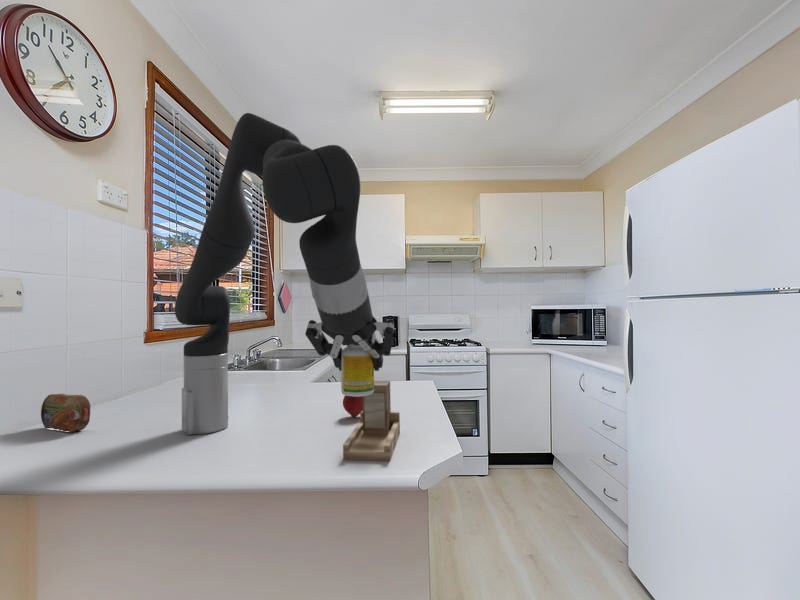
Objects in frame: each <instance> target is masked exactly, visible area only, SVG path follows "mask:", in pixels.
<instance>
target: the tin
mask: <svg viewBox="0 0 800 600" xmlns="http://www.w3.org/2000/svg"><path fill="white" fill-rule="evenodd" d="M90 416H91V403H90V400H89V399H88V398H87V397H86V396H85V395H83V394H70V393H56V394H53V393H52V394H48V395H46V397H45V398H44V400H43V402H42V405H41V408H40V418H41V422H42V425H43V426H44V428H45V429H46V428H54V429H59V430H63V431H69V432H71V433H74V432H73V431H75V432H79V431H82V430H84V429H86V428H87V426H88V425H89V422H90V418H91V417H90ZM78 430H79V431H78Z"/></svg>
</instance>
